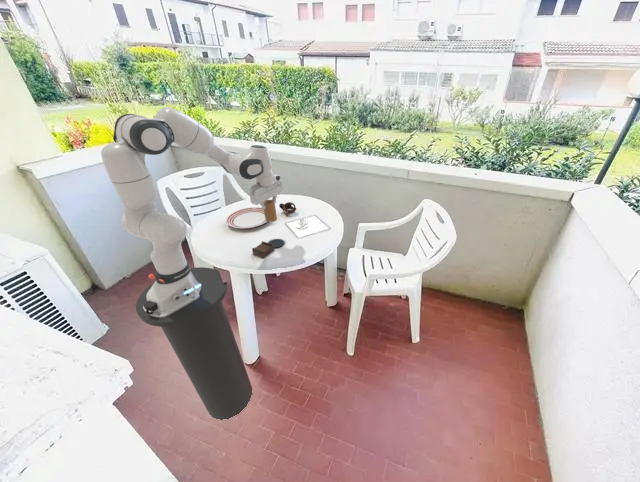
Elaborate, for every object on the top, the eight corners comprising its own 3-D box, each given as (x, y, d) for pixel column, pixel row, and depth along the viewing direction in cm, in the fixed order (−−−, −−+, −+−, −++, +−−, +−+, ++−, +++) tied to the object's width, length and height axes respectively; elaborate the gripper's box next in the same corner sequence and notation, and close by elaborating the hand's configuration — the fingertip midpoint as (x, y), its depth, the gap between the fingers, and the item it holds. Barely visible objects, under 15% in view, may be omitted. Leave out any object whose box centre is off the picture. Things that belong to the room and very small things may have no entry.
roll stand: (263, 258, 146) (262, 252, 144) (253, 254, 148) (251, 248, 146) (274, 250, 152) (273, 244, 150) (264, 246, 155) (262, 240, 152)
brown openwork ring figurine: (298, 210, 194) (298, 202, 187) (293, 220, 190) (293, 214, 182) (281, 204, 194) (280, 197, 186) (276, 215, 189) (275, 208, 182)
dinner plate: (257, 234, 165) (256, 229, 163) (217, 228, 171) (216, 223, 169) (279, 214, 187) (279, 209, 185) (243, 209, 193) (242, 204, 191)
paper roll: (263, 220, 147) (272, 223, 145) (259, 202, 142) (269, 205, 140) (270, 216, 152) (279, 218, 150) (267, 198, 146) (276, 200, 144)
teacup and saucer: (306, 221, 179) (306, 215, 177) (312, 226, 174) (311, 220, 171) (293, 224, 175) (293, 219, 173) (298, 230, 170) (298, 224, 168)
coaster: (277, 249, 152) (277, 249, 152) (264, 245, 155) (264, 245, 155) (287, 242, 159) (287, 241, 159) (274, 238, 162) (274, 237, 162)
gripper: (254, 188, 128) (260, 215, 135) (283, 174, 143) (286, 199, 151) (244, 185, 130) (250, 212, 137) (273, 172, 145) (277, 197, 153)
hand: (269, 205), depth 144 cm, fingers closed on paper roll, 6 cm apart
